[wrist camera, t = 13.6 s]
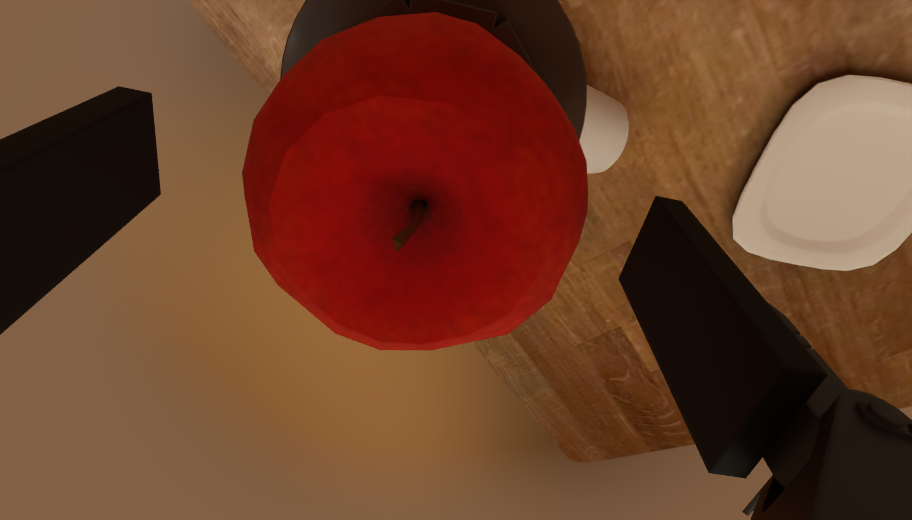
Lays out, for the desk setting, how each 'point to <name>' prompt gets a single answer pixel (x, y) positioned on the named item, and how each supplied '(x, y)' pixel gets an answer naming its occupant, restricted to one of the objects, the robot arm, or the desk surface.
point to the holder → (485, 3)
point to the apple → (415, 184)
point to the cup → (603, 131)
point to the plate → (833, 178)
